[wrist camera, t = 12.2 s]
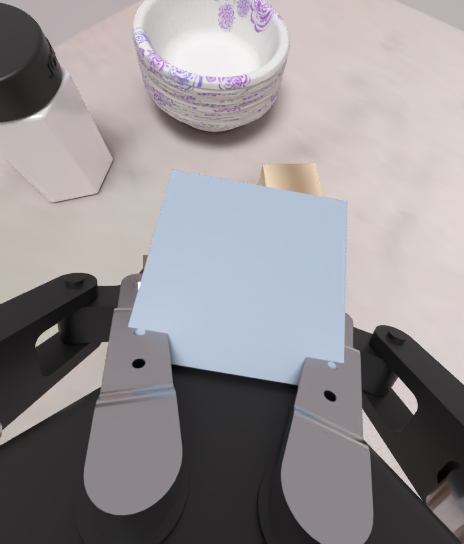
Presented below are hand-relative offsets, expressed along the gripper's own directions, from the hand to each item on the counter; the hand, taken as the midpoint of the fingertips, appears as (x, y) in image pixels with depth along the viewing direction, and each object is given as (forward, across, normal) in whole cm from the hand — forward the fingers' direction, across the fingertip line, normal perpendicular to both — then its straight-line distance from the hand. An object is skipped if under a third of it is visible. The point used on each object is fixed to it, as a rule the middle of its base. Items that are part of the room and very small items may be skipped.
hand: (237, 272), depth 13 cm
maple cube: (+17, +4, -1) cm, 17 cm away
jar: (+17, -19, 0) cm, 26 cm away
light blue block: (+3, 0, -6) cm, 6 cm away
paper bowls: (+27, -6, +9) cm, 29 cm away
